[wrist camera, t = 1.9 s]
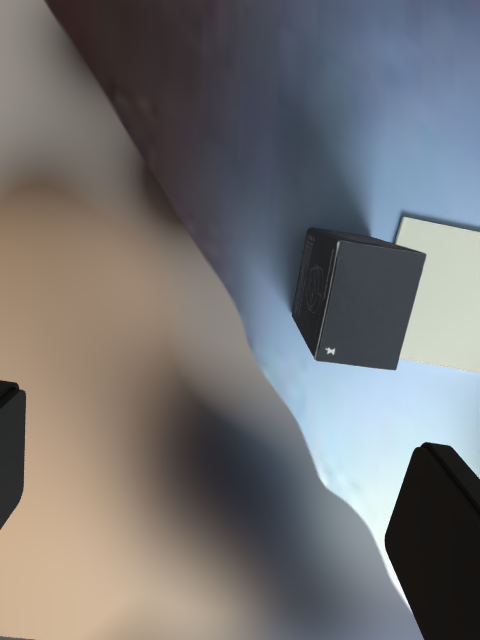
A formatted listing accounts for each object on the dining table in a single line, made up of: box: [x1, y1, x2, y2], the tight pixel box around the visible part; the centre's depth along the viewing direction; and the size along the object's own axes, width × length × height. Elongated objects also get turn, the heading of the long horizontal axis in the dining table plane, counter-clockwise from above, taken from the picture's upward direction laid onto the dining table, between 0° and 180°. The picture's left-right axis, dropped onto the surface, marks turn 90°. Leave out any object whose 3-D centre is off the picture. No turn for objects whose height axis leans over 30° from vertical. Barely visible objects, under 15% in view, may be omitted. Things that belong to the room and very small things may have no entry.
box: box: [292, 227, 427, 370], centre depth 31 cm, size 8×6×11 cm
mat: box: [394, 217, 480, 373], centre depth 36 cm, size 12×12×1 cm
